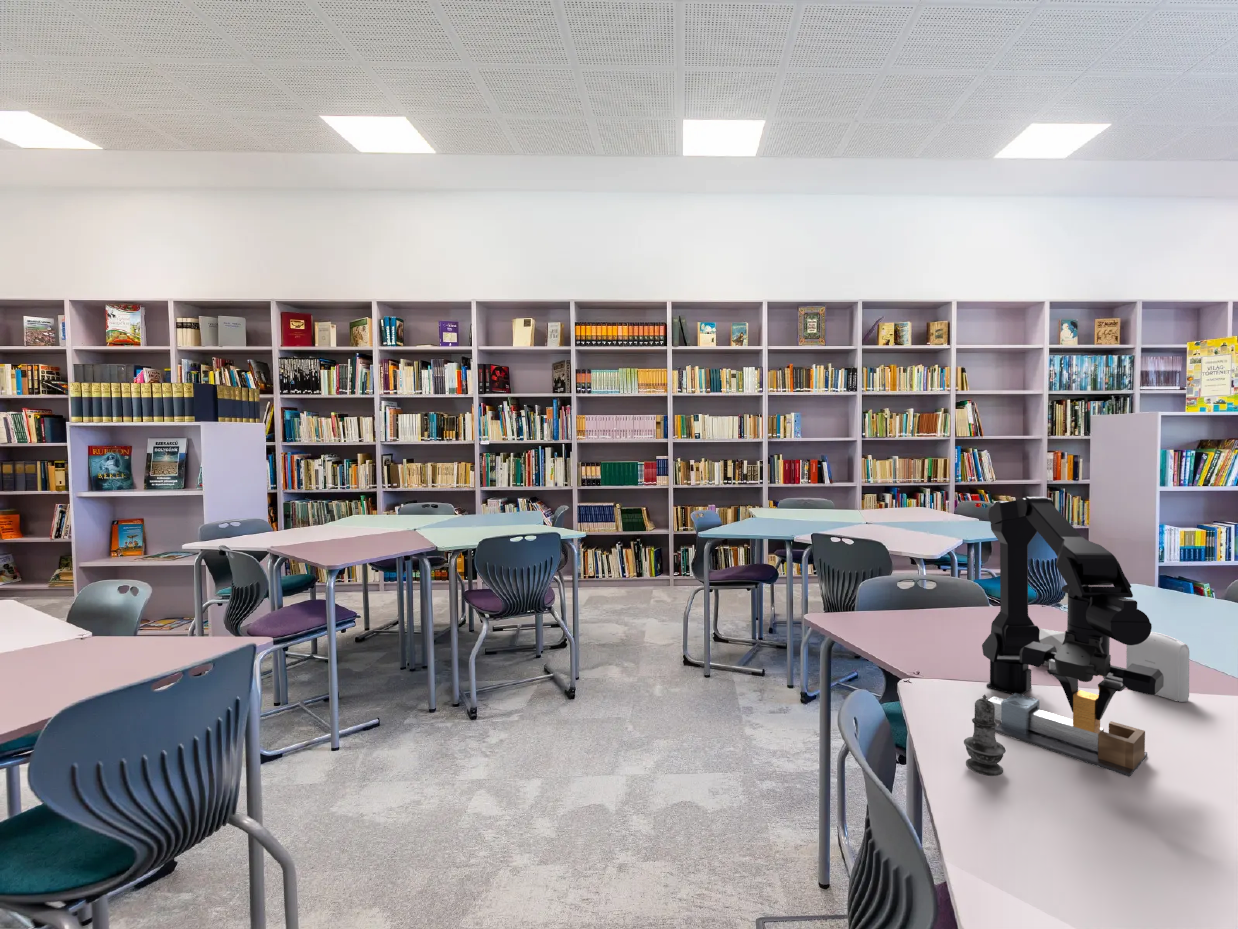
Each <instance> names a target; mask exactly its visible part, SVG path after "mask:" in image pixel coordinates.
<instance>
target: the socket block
mask: <svg viewBox="0 0 1238 929" xmlns="http://www.w3.org/2000/svg"><path fill="white" fill-rule="evenodd" d="M1145 742H1146V730H1144V729H1140V728H1136V727H1132V726H1129V725H1126V724H1123V723H1119V722H1115V721H1113V720H1112V721H1110V722H1109V723H1108V732H1106V731H1104V732H1103V731H1100V732H1099V741H1098V758H1099V759H1102V760H1105V761H1108V762H1111V763H1114V764H1117V765H1120V766H1124V767H1127V768H1130V769H1134V768H1135V767H1136V766H1137V764H1138V763H1139V762H1140V761H1141V760H1142V758H1143V757H1144V756H1145V752H1146V743H1145Z"/></svg>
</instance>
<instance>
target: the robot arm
mask: <svg viewBox="0 0 1238 929" xmlns="http://www.w3.org/2000/svg"><path fill="white" fill-rule="evenodd" d="M987 514H988V520H989V522H990V528H991V529H990V531H991V532H992V533H993V535H994V536H995V537H996V539H997V540H998V542H999V554H1000V555H999V557H1000V558H999V574H1000V575H999V577H1000V579H999V580H1000V582H999V583H1000V584H999V585H1000V588H999V590H1000V593H999V594H1000V609H999V610H1000V611H999V612H998V614H997V615H996V617H995V618H994V619H993V620H992V622H991V626H990V634H988V636H987V637H986V639H985V640H984V641H983V643H982V644H981V650H982V654H983V656H984V657H986V658H987V659H988V660H989V682H988V683H986V687H987V688H991V689H993V690H996V691H1001V692H1003V693H1007V694H1011V695H1013V694H1014V693H1017V694H1021V695H1024V694H1025V693H1027V692H1029V691H1030V690H1031V689H1032V688H1033V687H1032V669H1030V668H1029V666H1033V667H1037V668H1040V667H1041V666H1044V665H1043V664H1044V663H1045V661H1046V662H1049V666H1048V669H1046V673H1047V674H1048V675H1051V676H1053V677H1054V678H1055V679H1056V680H1058V682H1059V684H1060V685H1061V687H1062V689H1063V692H1064V694H1065V696H1066V700H1067V702H1068V704H1069V706H1070V709H1071V711H1072V713H1073V695H1074V694H1075V693H1076V692H1077V691H1079V681H1080V682H1083V683H1088V682H1092V680H1093V678H1094V676H1095V677H1098V676H1100V677H1102V679H1103V680H1101V681H1100V682H1099V683H1098V684H1097V686H1098V694H1097V695H1098V703H1097V710H1096V717H1097V720H1100V721H1101V719H1103V716H1104V714H1105V712H1106V710H1107V708H1108V706H1109V704H1110V703H1111V700H1112V699H1113V697H1114V696H1115V694H1116V692H1122V691H1124V690H1125V689H1128V690H1129V691H1133V692H1137V693H1139V694H1140V693H1141V694H1144V695H1149V696H1156V693H1157V692H1158V691H1159V690H1160V689H1161V688H1162V687H1163V683H1164V676H1163V674H1162V673H1161V671H1160V670H1159V669H1155V668H1151V667H1146V666H1142V665H1137V664H1133V663H1132V664H1131V665H1130V666H1129V667H1127V668H1126V667H1125V668H1124V667H1120V666H1116V665H1112V664H1111V662H1112V661H1111V658H1112V656H1111V654H1110V647H1111V645H1110V642H1111V641H1110V640H1111V639H1113V640H1114V641H1117V642H1118V643H1121V644H1123V645H1126V646H1127V645H1137V644H1140V643H1142V642H1143V641H1145V640H1146V639H1147V638H1148V637H1149V635H1150V633H1151V632H1152V627H1153V626H1152V625H1153V624H1152V622H1151V621H1150V618H1149V616H1148V615H1147V614H1146V613H1145V612H1144V611H1142V610H1140V609H1138V601H1137V600H1135V599H1131V598H1133V597H1134V595H1133V592H1132V589H1131V588H1132V585H1131V583H1130V582H1129V581H1128V578H1127V577H1126V575H1125V573H1124V571H1123V569H1122V566H1121V565H1120V563H1119V561H1118V559H1117V557H1116V556H1115V555H1114V554H1113V553H1112V552H1111V551H1109V550H1108V549H1107V548H1105V547H1103V546H1102V545H1101V544H1098V543H1095V542H1093V541H1090V540H1088V539H1086V538H1084V536H1082V534H1080V533H1079V531H1078V530H1077V529H1076V528H1075V527H1074V526H1073V525H1072V524H1071V523H1070V522H1069V521H1068V520H1067V519H1066V517H1065V516H1064V515H1063V514H1062V513H1061V512H1060V511H1059V510H1058V509H1057V508H1056V507H1055V504H1054V501H1053V499H1051V497H1047V496H1024V497H1020V498H1017V499H1013V500H1011V501H1010V500H1009V501H1007V500H1006V501H1005V500H1004V501H1003V500H1002V501H995V502H994V503H993V505H992V506H991V507H989V509H988V513H987ZM1036 534H1039V535H1040V536H1041V538H1042V539H1043V540H1044V541H1045V542H1046V544H1047V545H1048V546H1049V547H1050V548H1051V550H1052V551H1053V552H1054V553H1055V555H1056V557H1057V558H1056V562H1055V566H1056V569H1057V570H1058V571H1059V573H1060V576H1061V577H1062V578H1063V579H1064V581H1065V583H1066V584H1064V585H1063V586H1062V587H1061V591H1062V592H1063V593H1066V594H1067V620H1066V621H1067V622H1066V624H1067V626H1066V630H1065V631H1064V632H1065V639H1064V642H1063V644H1062V646H1061V647H1060V648H1059V650H1058V651H1057V650H1056V648H1055V646H1052V645H1047V644H1043V643H1040V640H1039V633H1040V628H1039V626H1038V625H1035V623H1034V622H1033V620H1032V619H1031V617H1030V616H1029V544H1030V543H1031V542H1032V540H1033V539H1034V538H1035V536H1036ZM1110 638H1111V639H1110Z"/></svg>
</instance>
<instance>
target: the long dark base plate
mask: <svg viewBox="0 0 1238 929" xmlns="http://www.w3.org/2000/svg"><path fill="white" fill-rule="evenodd" d="M1004 699H1005V700H1004V701H1002V702H1001V721H1000V723H999V724H997V727H995V733H997V734H1000V735H1003V736H1006V737H1008V738H1012V739H1015V740H1018V741H1020V742H1021V741H1022V742H1023V743H1027V744H1029V745H1033V746H1035V747H1039V748H1042V749H1045V750H1048V751H1052V752H1054V753H1057V754H1061V755H1063V756H1066V757H1069V758H1072V759H1073V760H1078V761H1080V762H1084V763H1087V764H1090V765H1093V766H1095V767H1099V768H1102V769H1105V770H1108V771H1111V772H1113V773H1117V774H1120V775H1123V776H1125V777H1128V778H1131V777H1132V775H1133V774H1134V773H1135V772H1136V770H1138V768H1139V767H1140V765H1141V764H1142V763H1143V762H1144V761H1145V760H1146V758H1147V757H1148V752H1147V751H1145V756H1144V757H1143V758H1142V760H1141V761H1140V762H1139V763H1138V764H1137V766H1136V767H1135V768H1134V769H1130V768H1127V767H1124V766H1120V765H1117V764H1114V763H1111V762H1108V761H1105V760H1102V759H1099V758H1098V752H1097V751H1094V750H1091V749H1088V748H1085V747H1082V746H1079V745H1076V744H1072V743H1069V742H1066V741H1063V740H1060V739H1057V738H1054V737H1050V736H1047V735H1044V734H1041V733H1038V732H1035V731H1032V730H1029V729H1028V712H1029V711H1030V710H1031V709H1033V708H1036V709H1039V710H1040V702H1041V701H1040V699H1038V698H1035V697H1031V696H1028V695H1024V694H1023V695H1021V694H1017V693H1014V694H1011V695H1009V696H1008V697H1007V698H1004Z"/></svg>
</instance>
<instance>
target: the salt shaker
mask: <svg viewBox="0 0 1238 929" xmlns="http://www.w3.org/2000/svg"><path fill="white" fill-rule="evenodd" d="M987 698H988V696H987V695H986V694H985V693H984V694H982V698H979V699H977V700H975V702H974V717H973V718H971V722H972V723H973V735H972V736H969V737H966V738H965V739H964V740H963V744H964V746H965V749H966V752H967V754H968V756H969V758H967V759H966V761H965V766H966V767H967V768H968V769H969V770H971V771H973V772H975V773H976V774H981V775H984V776H990V777H998V776H1001V775H1003V774H1004V768H1003V767H1002V766H1001V765H1000V764H999V763H1000V762H1001V761H1002V759H1003V758H1004V754H1006V750H1007V748H1005V746H1004V745H1003V744H1001V743H1000V742H999V741H997V739H996V732H995V727H997V726H998V723H997V722H996V719H995V707H994V704H993V703H992V702H991V701H989V699H987Z"/></svg>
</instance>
